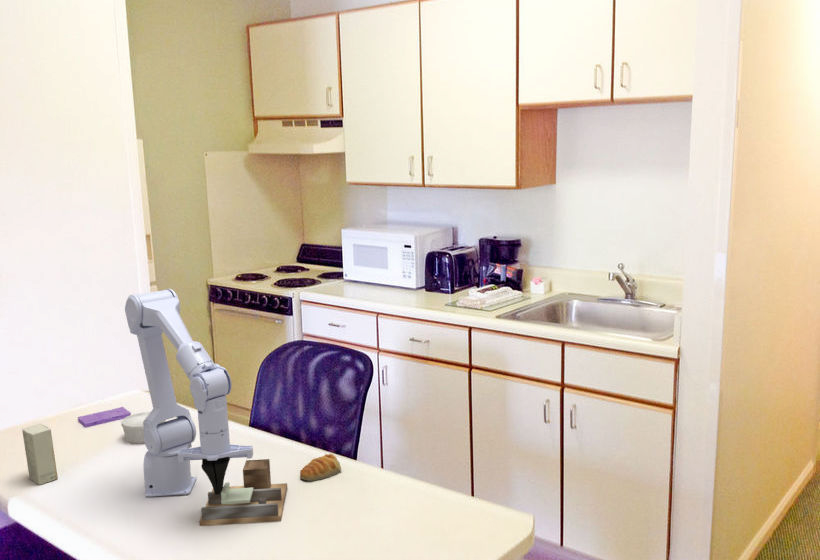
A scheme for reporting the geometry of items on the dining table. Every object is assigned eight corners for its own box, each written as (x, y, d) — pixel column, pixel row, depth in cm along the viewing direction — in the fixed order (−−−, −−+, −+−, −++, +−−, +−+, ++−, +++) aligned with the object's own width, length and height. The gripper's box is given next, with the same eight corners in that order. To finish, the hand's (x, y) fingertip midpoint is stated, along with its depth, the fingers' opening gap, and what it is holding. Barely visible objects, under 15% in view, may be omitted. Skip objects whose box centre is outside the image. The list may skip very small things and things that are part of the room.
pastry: (312, 486, 165) (311, 470, 165) (293, 478, 170) (292, 462, 169) (343, 472, 172) (342, 456, 171) (324, 464, 177) (323, 449, 176)
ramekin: (151, 426, 204) (149, 408, 203) (176, 434, 197) (175, 415, 196) (114, 440, 195) (112, 420, 194) (139, 449, 189) (137, 429, 188)
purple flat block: (131, 418, 212) (130, 412, 211) (84, 429, 204) (84, 423, 204) (123, 412, 217) (123, 406, 217) (78, 422, 210) (77, 416, 209)
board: (199, 525, 149) (198, 509, 148) (213, 491, 163) (212, 477, 163) (280, 520, 150) (279, 505, 149) (287, 487, 164) (286, 473, 164)
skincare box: (58, 479, 172) (52, 429, 170) (38, 486, 169) (32, 434, 167) (47, 471, 176) (41, 422, 174) (27, 478, 173) (21, 428, 171)
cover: (221, 504, 149) (220, 494, 149) (226, 491, 155) (225, 481, 155) (249, 502, 150) (249, 492, 149) (253, 490, 155) (252, 480, 155)
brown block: (244, 496, 158) (242, 470, 157) (247, 486, 163) (246, 460, 162) (268, 495, 159) (266, 468, 158) (271, 484, 164) (269, 459, 163)
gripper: (172, 438, 145) (177, 503, 148) (247, 434, 146) (252, 499, 148) (180, 424, 152) (186, 487, 154) (252, 421, 153) (256, 483, 155)
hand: (218, 492), depth 152 cm, fingers closed
